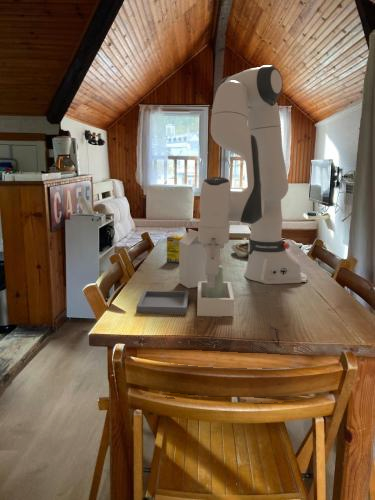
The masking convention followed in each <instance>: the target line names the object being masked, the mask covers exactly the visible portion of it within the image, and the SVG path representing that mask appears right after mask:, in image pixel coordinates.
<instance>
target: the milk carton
mask: <svg viewBox="0 0 375 500" xmlns="http://www.w3.org/2000/svg"><path fill="white" fill-rule="evenodd" d="M183 236H184V237H183V238H182V239H181V240H180V241H179V264H178V265H179V267H178V270H179V271H178V274H179V276H178V283H179V284H180V285H182V286H184V287H185V288H187V289H192V288H198V281H208V275H206V274H205V264H206V248H203V247H202V243H201V242H199V241H198V231H196V230H193V229H190V228H188V229H187V232H186V233H185V234H184V235H183Z"/></svg>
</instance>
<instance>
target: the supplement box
mask: <svg viewBox="0 0 375 500" xmlns="http://www.w3.org/2000/svg"><path fill="white" fill-rule="evenodd" d="M184 236H185V235H178V234H170V235H168V236H166V263H172V264H173V263H174V264H178V265H179V241H180V240H181V239H182V238H183V237H184Z"/></svg>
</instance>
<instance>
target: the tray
mask: <svg viewBox="0 0 375 500" xmlns="http://www.w3.org/2000/svg"><path fill="white" fill-rule="evenodd" d="M188 304H189V291H188V290H158V289H157V290H155V289H154V290H153V289H149V290H147V289H146V290H145V289H143V291H142V294H141V296H140V298H139V300H138V302H137V305H136V313H137V314H161V315H162V314H163V315H165V314H167V315H168V314H169V315H187V314H188V313H187V312H188Z"/></svg>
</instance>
